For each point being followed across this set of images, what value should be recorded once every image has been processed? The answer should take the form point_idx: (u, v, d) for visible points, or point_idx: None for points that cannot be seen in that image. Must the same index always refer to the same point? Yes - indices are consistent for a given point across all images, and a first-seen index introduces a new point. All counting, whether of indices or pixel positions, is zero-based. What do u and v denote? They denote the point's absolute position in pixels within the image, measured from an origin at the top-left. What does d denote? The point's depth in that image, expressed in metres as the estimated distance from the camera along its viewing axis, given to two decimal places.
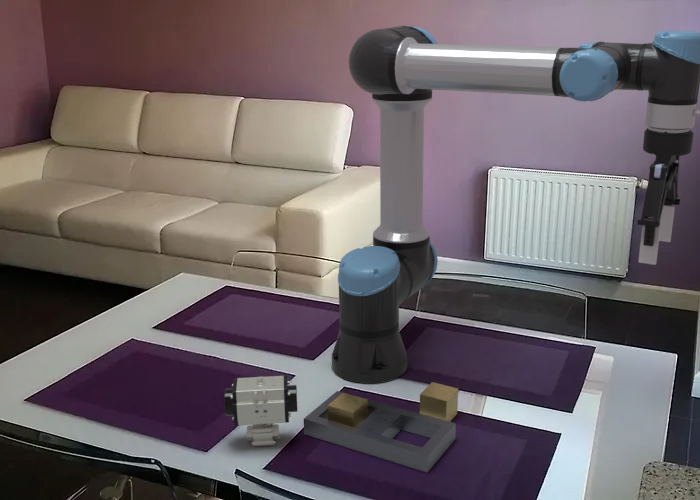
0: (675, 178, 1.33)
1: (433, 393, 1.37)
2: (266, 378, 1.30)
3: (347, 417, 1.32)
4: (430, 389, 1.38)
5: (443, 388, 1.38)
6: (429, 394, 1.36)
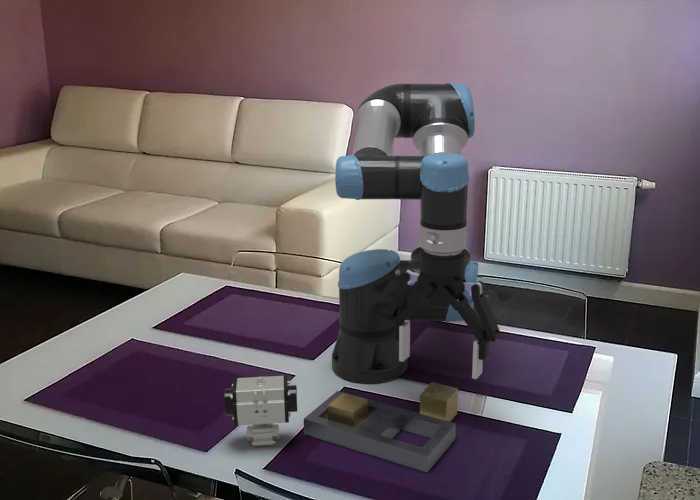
0: (451, 304, 1.29)
1: (433, 393, 1.37)
2: (266, 378, 1.30)
3: (347, 417, 1.32)
4: (430, 389, 1.38)
5: (443, 388, 1.38)
6: (429, 394, 1.36)
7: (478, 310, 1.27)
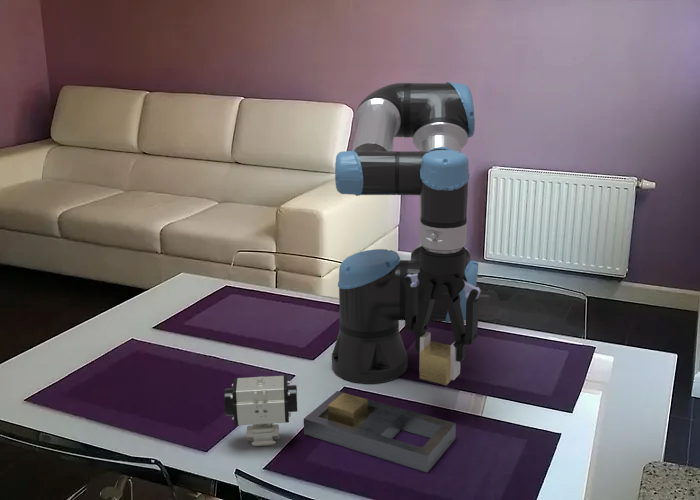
0: (445, 301, 1.30)
1: (433, 351, 1.34)
2: (266, 378, 1.30)
3: (347, 417, 1.32)
4: (430, 348, 1.36)
5: (443, 347, 1.36)
6: (429, 352, 1.34)
7: (467, 313, 1.29)
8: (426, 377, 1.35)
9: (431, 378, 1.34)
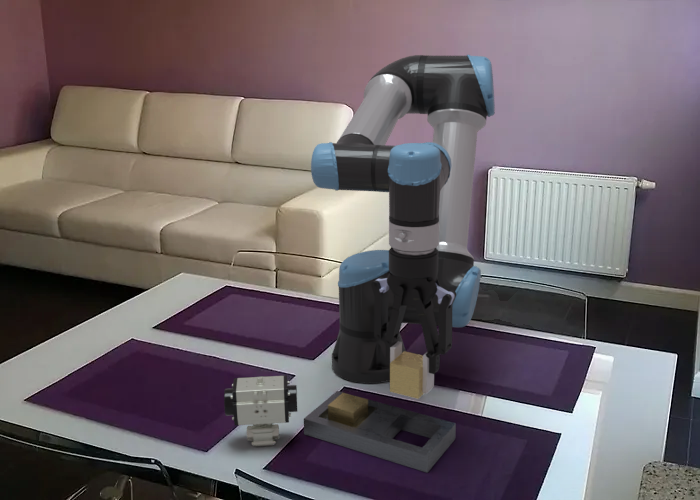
0: (416, 307, 1.20)
1: (404, 362, 1.24)
2: (266, 378, 1.30)
3: (347, 417, 1.32)
4: (401, 358, 1.25)
5: (416, 357, 1.25)
6: (400, 363, 1.24)
7: (440, 320, 1.19)
8: (397, 390, 1.24)
9: (402, 391, 1.24)
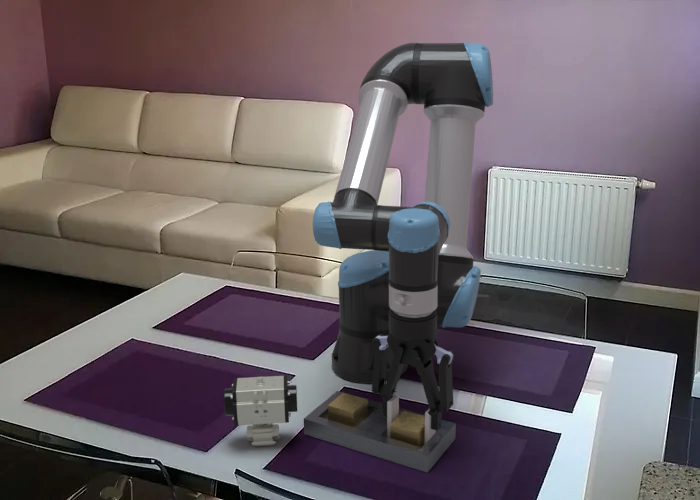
0: None
1: (404, 423, 1.27)
2: (266, 378, 1.30)
3: (347, 417, 1.32)
4: (401, 419, 1.29)
5: (415, 418, 1.29)
6: (400, 424, 1.27)
7: (440, 379, 1.22)
8: None
9: None
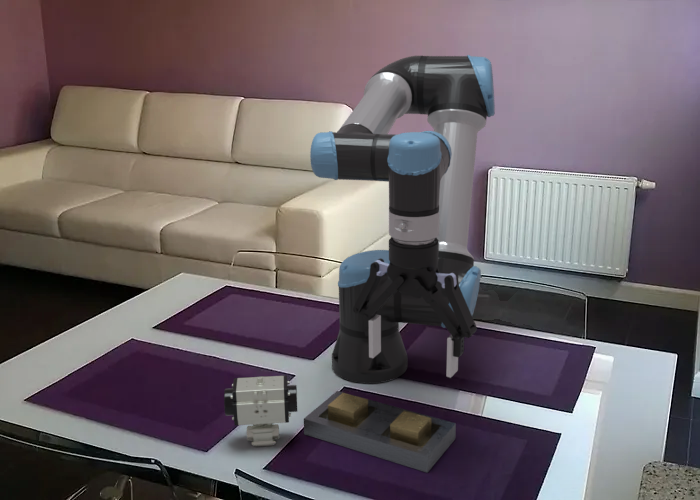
0: (423, 297, 1.19)
1: (404, 423, 1.27)
2: (266, 378, 1.30)
3: (347, 417, 1.32)
4: (401, 419, 1.29)
5: (415, 418, 1.29)
6: (400, 424, 1.27)
7: (452, 303, 1.17)
8: None
9: None
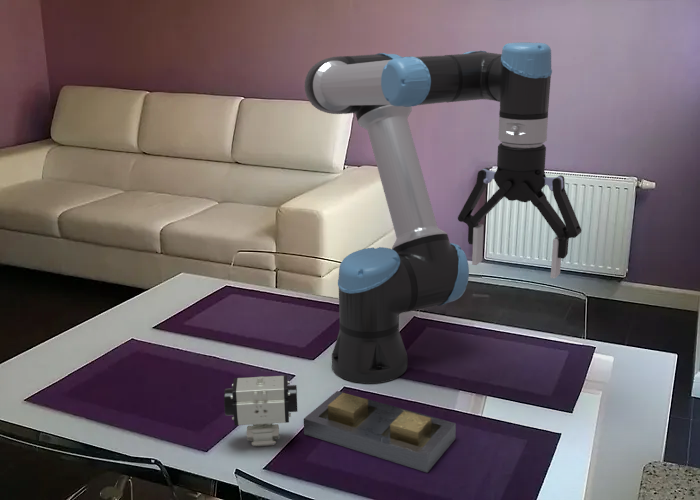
0: None
1: (404, 423, 1.27)
2: (266, 378, 1.30)
3: (347, 417, 1.32)
4: (401, 419, 1.29)
5: (415, 418, 1.29)
6: (400, 424, 1.27)
7: (559, 205, 1.23)
8: None
9: None
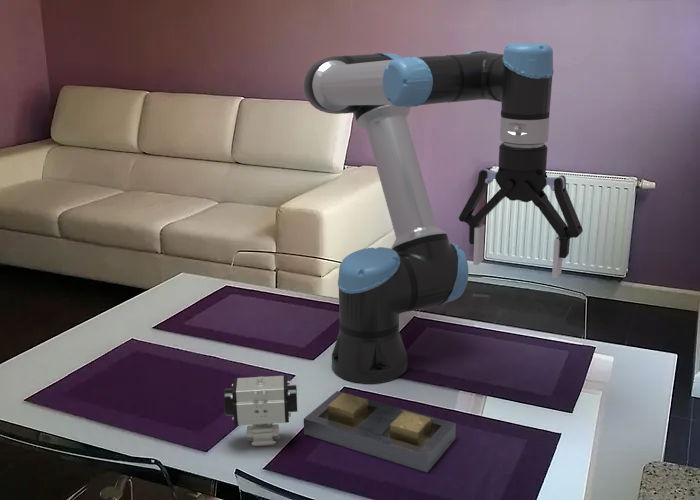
0: (532, 200, 1.26)
1: (404, 423, 1.27)
2: (266, 378, 1.30)
3: (347, 417, 1.32)
4: (401, 419, 1.29)
5: (415, 418, 1.29)
6: (400, 424, 1.27)
7: (561, 205, 1.24)
8: None
9: None
